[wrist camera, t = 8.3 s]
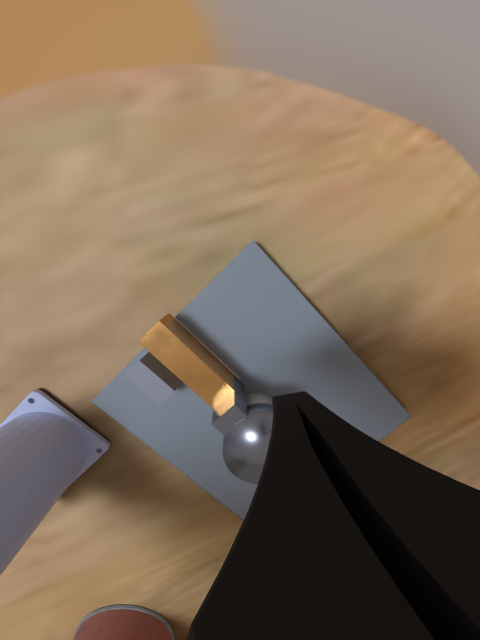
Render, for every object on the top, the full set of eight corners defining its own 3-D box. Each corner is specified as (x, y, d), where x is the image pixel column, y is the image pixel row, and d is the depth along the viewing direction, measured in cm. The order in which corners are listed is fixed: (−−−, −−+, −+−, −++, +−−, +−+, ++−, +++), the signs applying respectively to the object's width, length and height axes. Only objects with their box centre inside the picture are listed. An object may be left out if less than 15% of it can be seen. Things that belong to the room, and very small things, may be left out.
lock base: (257, 518, 23) (262, 569, 19) (99, 393, 20) (66, 424, 16) (401, 408, 21) (440, 440, 17) (251, 241, 17) (256, 234, 13)
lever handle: (301, 412, 19) (319, 451, 15) (254, 450, 20) (260, 497, 16) (184, 298, 16) (168, 307, 12) (136, 345, 17) (107, 369, 13)
